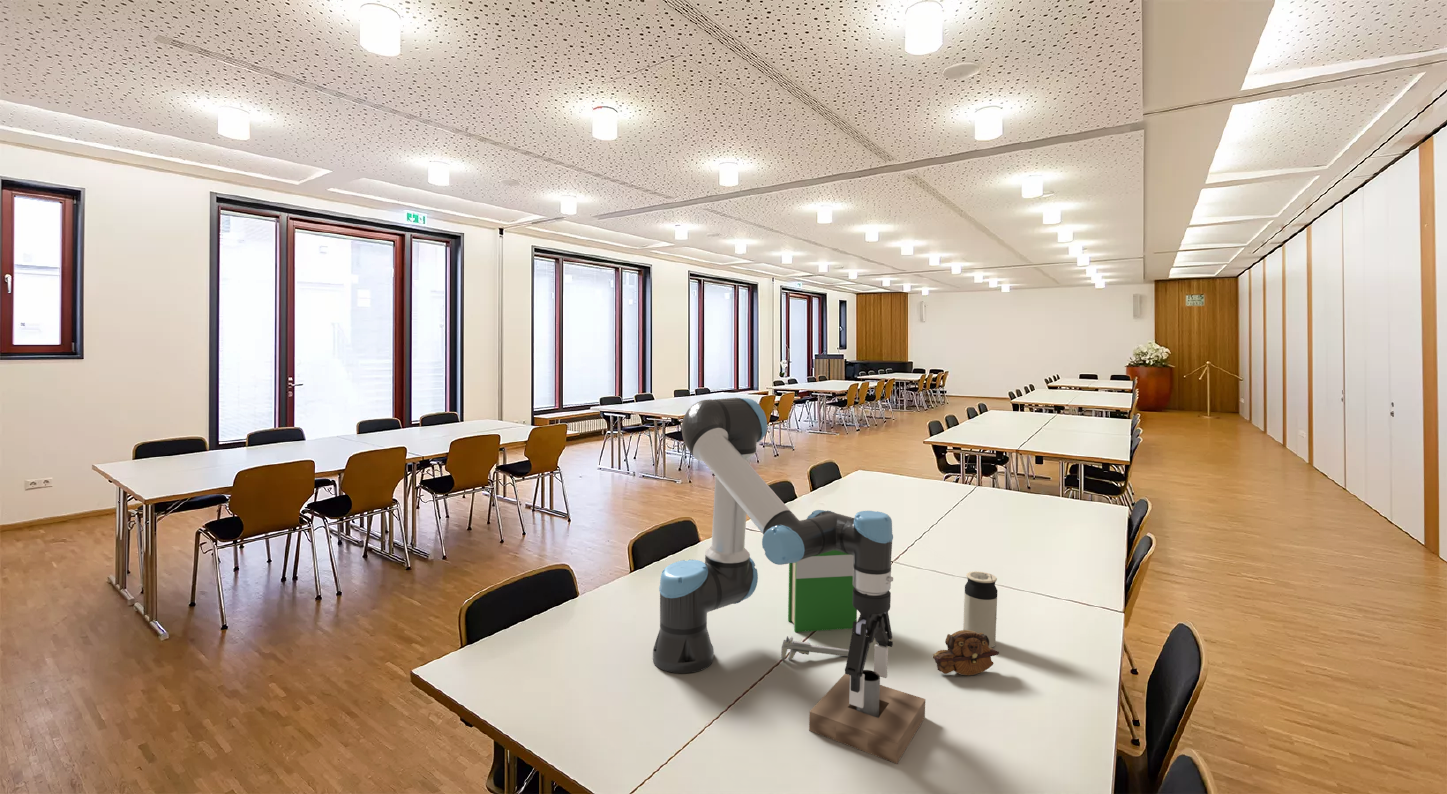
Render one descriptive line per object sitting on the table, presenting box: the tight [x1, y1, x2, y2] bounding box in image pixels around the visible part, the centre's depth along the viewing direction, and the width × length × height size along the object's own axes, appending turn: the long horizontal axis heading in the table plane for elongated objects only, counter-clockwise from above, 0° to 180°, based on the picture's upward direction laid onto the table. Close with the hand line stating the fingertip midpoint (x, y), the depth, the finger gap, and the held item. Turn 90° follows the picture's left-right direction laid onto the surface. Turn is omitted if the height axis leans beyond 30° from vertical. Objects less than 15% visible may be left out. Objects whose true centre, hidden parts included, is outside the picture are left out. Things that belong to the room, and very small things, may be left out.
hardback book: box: [787, 550, 858, 633], centre depth 174 cm, size 18×7×24 cm, turn 99°
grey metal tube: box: [856, 669, 881, 718], centre depth 127 cm, size 4×4×10 cm
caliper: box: [780, 635, 849, 662], centre depth 155 cm, size 20×1×6 cm, turn 99°
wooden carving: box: [932, 629, 1000, 676], centre depth 148 cm, size 16×5×10 cm, turn 105°
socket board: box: [808, 673, 926, 764], centre depth 127 cm, size 18×18×4 cm
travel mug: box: [962, 570, 998, 648], centre depth 164 cm, size 8×8×18 cm
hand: (869, 690), depth 127 cm, fingers open, 13 cm apart
